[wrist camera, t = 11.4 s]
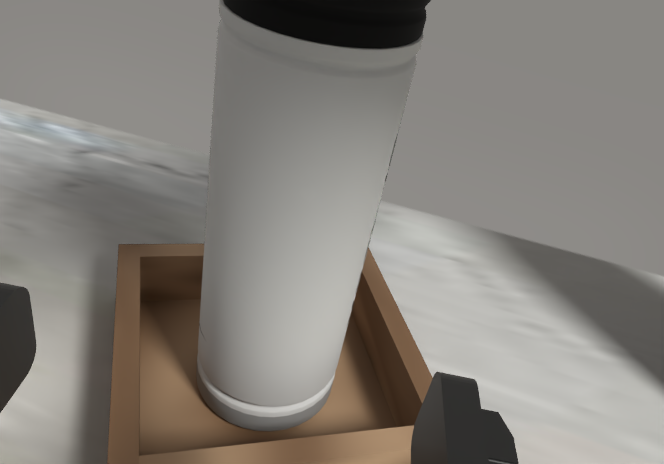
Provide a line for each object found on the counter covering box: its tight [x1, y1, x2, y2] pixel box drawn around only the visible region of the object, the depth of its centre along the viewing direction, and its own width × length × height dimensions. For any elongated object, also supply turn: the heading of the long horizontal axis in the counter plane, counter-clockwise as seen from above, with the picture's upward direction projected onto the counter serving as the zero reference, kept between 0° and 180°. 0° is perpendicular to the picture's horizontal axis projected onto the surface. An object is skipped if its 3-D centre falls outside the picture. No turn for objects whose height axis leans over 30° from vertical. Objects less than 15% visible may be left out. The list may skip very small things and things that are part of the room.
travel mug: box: [196, 0, 430, 431], centre depth 22 cm, size 6×7×20 cm
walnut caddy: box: [107, 244, 433, 464], centre depth 27 cm, size 13×13×4 cm
